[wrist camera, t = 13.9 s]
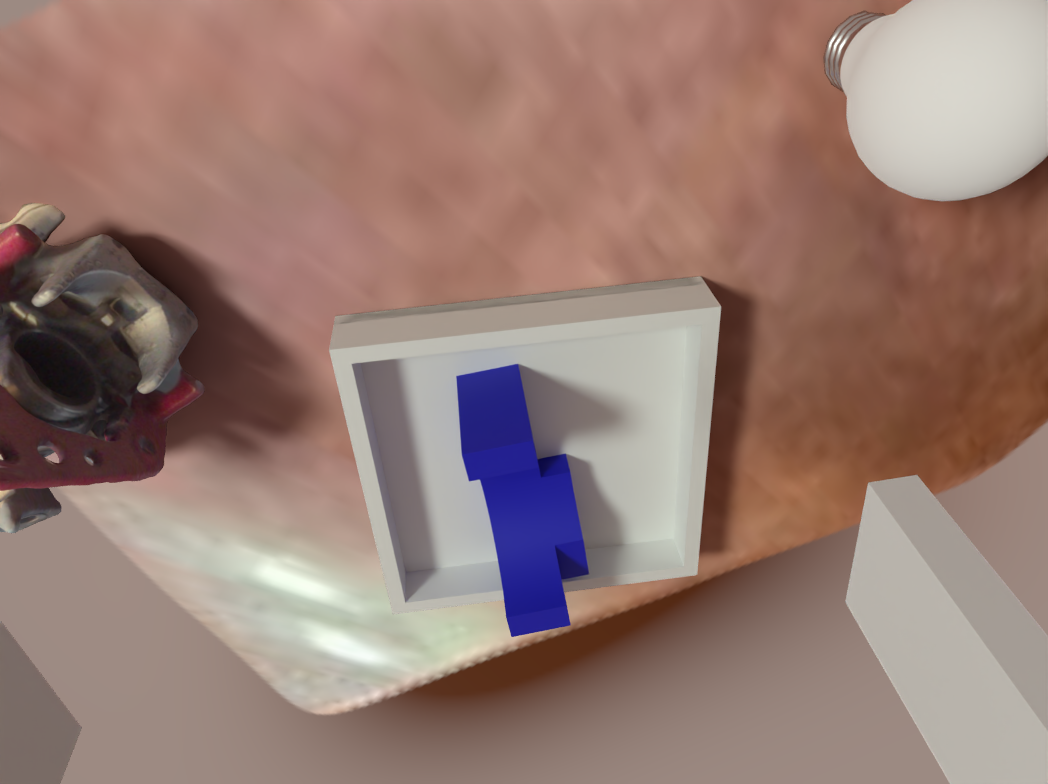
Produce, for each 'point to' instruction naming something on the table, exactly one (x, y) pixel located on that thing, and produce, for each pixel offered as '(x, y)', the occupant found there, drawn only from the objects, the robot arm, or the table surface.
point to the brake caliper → (82, 365)
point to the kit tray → (535, 429)
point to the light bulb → (946, 93)
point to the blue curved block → (521, 500)
